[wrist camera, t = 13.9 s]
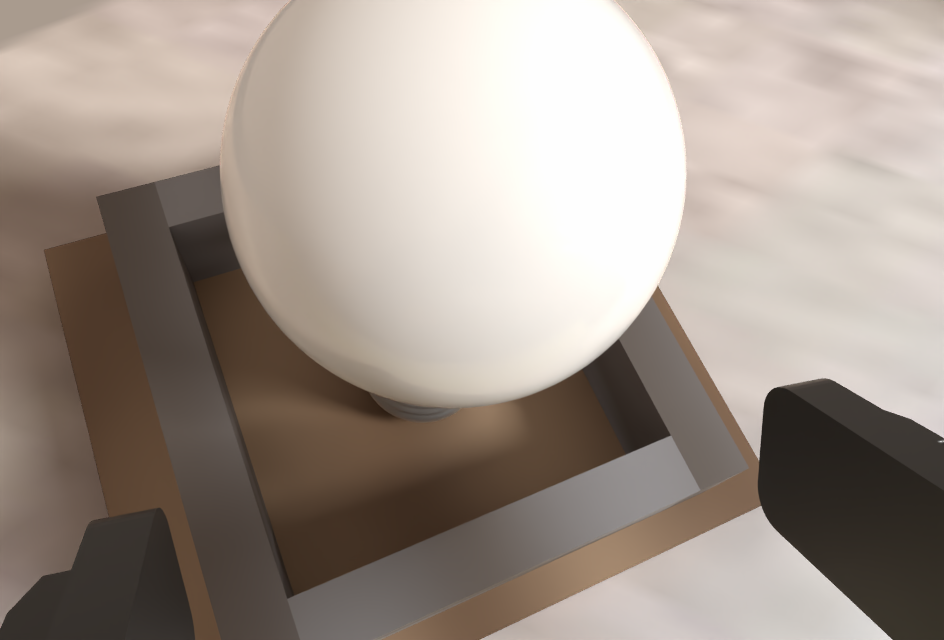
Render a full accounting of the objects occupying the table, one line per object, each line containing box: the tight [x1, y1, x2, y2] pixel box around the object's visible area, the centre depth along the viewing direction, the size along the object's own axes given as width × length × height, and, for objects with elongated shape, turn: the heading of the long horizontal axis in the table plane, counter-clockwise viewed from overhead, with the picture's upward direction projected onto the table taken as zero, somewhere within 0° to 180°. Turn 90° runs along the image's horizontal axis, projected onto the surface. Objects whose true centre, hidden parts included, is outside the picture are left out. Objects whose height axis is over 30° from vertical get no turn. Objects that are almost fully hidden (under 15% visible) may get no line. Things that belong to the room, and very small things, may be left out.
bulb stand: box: [44, 166, 761, 640], centre depth 17 cm, size 14×12×4 cm
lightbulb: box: [220, 0, 686, 423], centre depth 13 cm, size 6×6×11 cm
